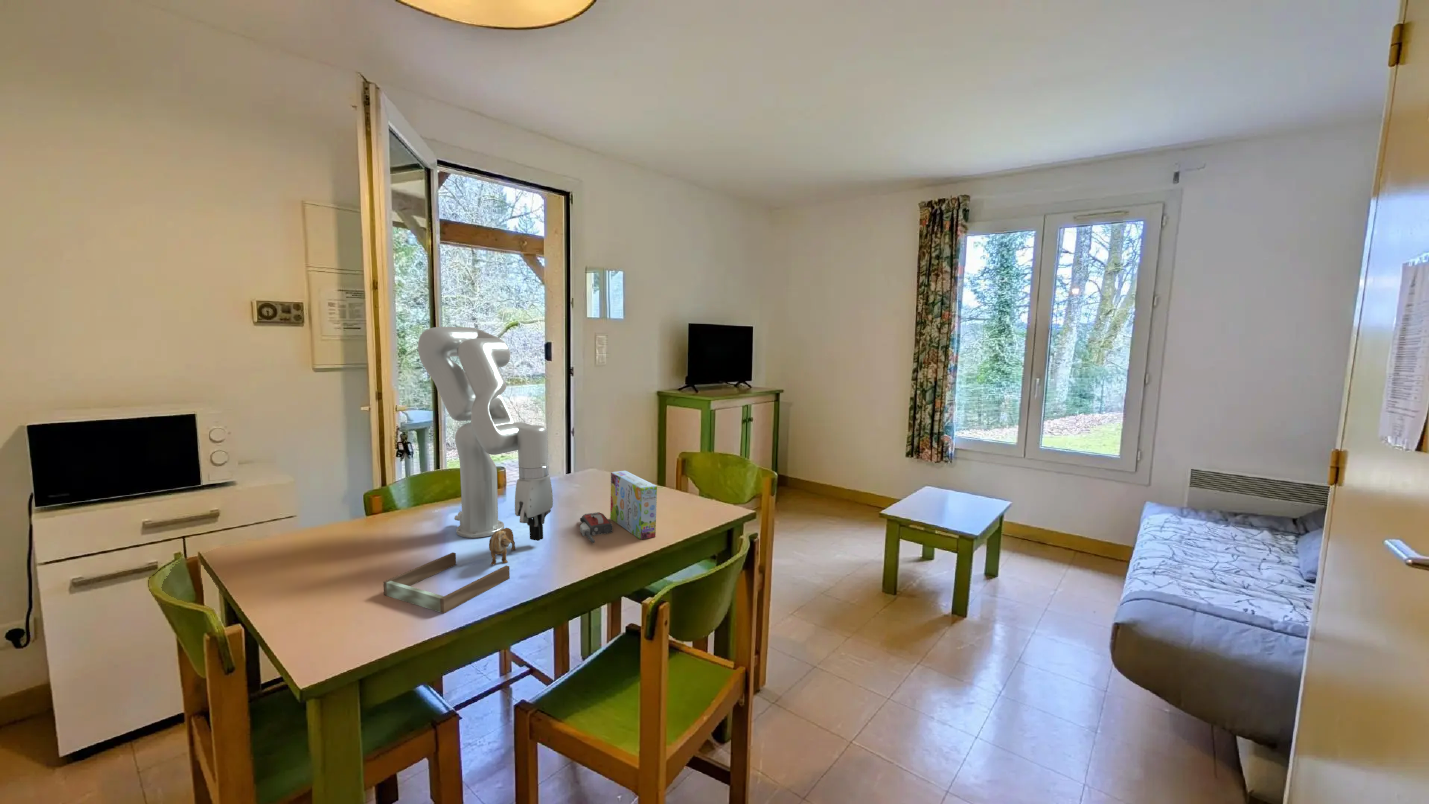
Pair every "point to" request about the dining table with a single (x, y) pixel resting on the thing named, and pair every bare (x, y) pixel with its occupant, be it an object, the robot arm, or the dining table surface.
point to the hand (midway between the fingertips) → (536, 539)
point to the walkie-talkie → (594, 525)
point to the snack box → (633, 504)
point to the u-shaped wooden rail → (403, 591)
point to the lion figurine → (501, 544)
